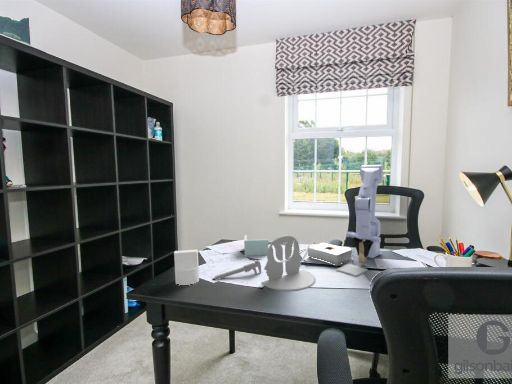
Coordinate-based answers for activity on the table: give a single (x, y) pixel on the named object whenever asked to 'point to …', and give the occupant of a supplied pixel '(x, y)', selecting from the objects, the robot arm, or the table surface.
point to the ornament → (286, 267)
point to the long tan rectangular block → (362, 254)
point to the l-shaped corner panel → (255, 247)
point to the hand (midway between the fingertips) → (362, 255)
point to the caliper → (241, 270)
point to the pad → (352, 270)
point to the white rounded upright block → (186, 267)
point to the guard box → (330, 253)
